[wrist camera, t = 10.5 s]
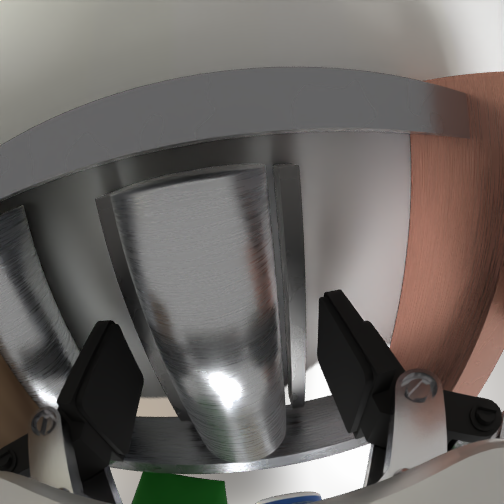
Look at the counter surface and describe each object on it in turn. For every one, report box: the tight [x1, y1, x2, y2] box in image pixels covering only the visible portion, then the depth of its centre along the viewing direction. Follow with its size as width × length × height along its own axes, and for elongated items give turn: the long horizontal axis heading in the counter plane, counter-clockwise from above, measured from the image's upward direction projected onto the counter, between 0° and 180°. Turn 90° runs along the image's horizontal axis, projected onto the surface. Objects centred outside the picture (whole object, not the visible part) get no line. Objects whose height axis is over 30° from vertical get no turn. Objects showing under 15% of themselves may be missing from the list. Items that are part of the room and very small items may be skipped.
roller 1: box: [0, 205, 116, 465], centre depth 8 cm, size 12×4×4 cm, turn 6°
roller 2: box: [110, 164, 286, 463], centre depth 9 cm, size 11×4×4 cm, turn 7°
